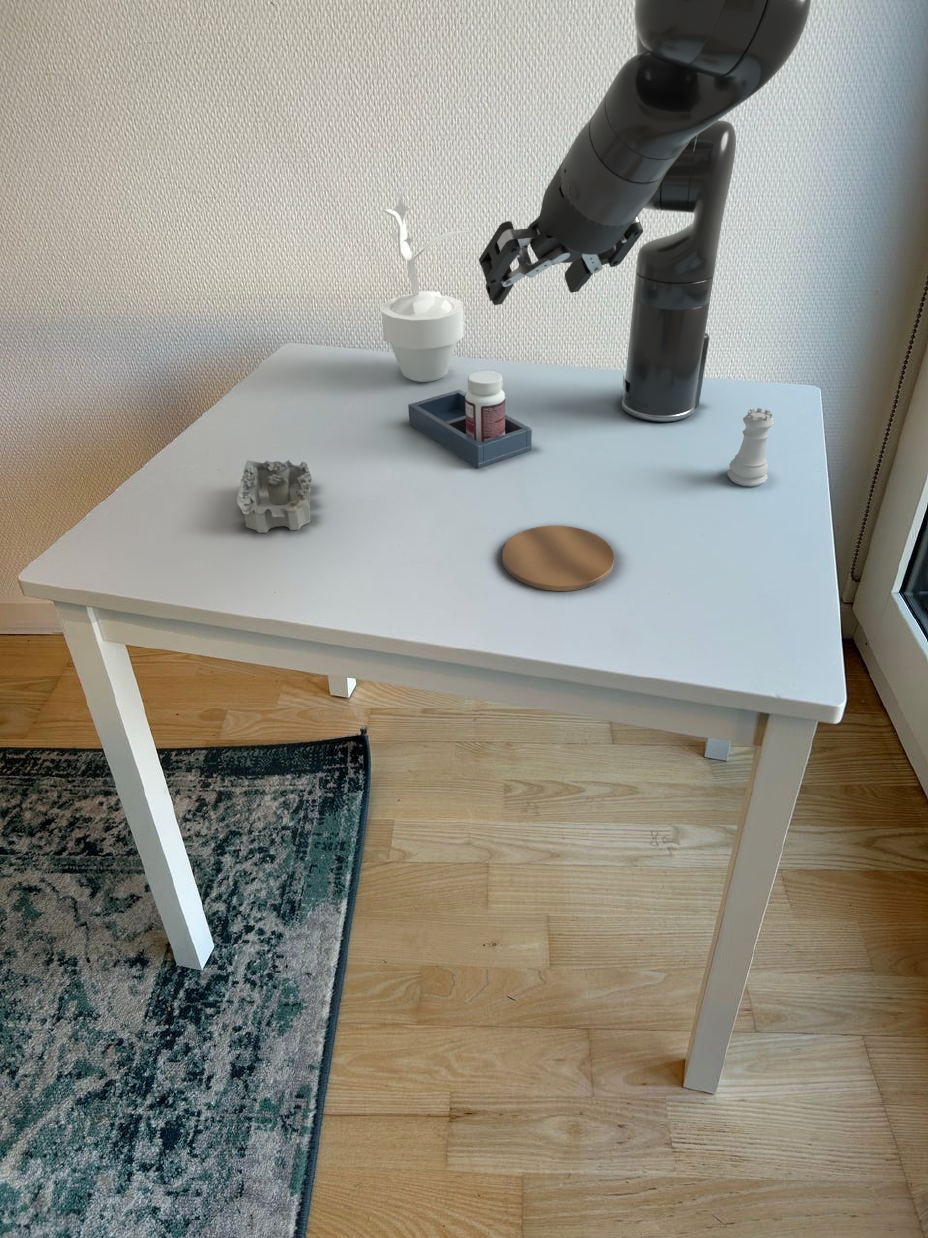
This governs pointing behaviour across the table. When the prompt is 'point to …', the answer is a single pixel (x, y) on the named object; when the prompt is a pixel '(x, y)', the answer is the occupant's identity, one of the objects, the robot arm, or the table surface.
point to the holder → (448, 428)
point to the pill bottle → (485, 406)
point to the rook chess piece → (752, 450)
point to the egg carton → (275, 495)
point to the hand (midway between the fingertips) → (532, 290)
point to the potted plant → (421, 316)
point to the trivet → (558, 558)
